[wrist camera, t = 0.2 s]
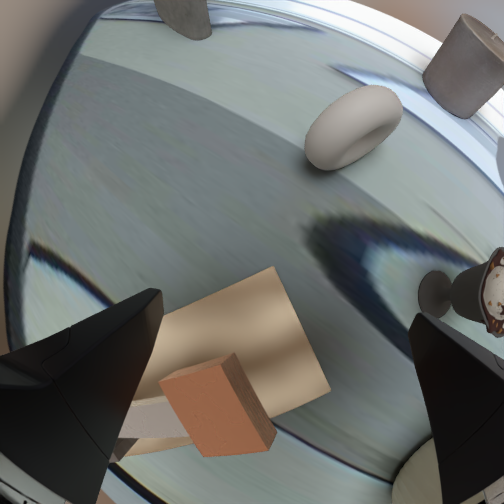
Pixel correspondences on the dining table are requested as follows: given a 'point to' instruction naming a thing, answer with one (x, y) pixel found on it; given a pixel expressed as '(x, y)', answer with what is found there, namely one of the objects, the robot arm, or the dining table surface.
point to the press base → (234, 350)
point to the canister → (422, 479)
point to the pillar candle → (466, 68)
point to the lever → (205, 410)
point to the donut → (352, 126)
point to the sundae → (469, 293)
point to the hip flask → (186, 17)
